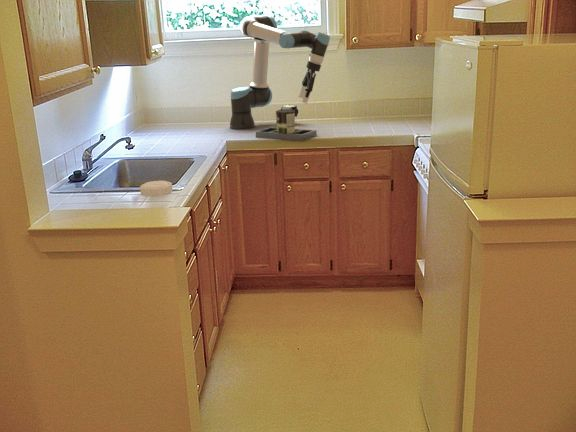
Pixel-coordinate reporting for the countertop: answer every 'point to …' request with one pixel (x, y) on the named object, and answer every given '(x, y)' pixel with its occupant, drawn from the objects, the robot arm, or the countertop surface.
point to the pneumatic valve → (290, 108)
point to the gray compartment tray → (287, 134)
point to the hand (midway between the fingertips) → (302, 100)
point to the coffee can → (285, 121)
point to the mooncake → (156, 188)
